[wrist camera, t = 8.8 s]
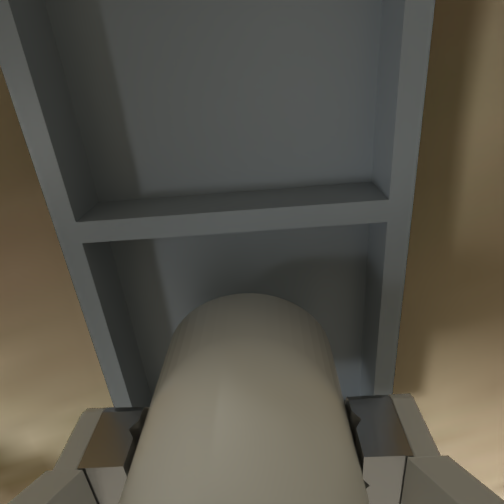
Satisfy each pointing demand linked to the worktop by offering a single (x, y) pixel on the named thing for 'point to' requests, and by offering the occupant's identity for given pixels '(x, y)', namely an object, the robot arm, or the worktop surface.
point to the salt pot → (247, 413)
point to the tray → (225, 164)
